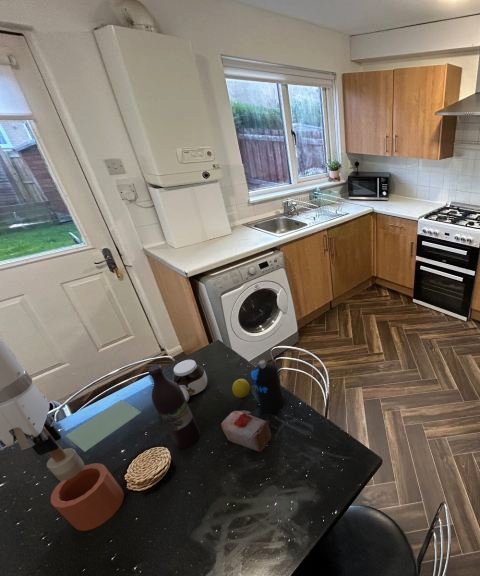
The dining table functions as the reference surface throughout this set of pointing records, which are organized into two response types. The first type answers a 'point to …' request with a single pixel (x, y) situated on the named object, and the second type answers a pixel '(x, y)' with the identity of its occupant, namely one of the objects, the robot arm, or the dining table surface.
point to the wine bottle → (173, 409)
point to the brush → (64, 462)
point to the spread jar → (190, 378)
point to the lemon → (241, 388)
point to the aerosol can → (268, 387)
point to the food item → (246, 430)
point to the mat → (102, 425)
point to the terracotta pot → (88, 497)
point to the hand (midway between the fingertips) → (50, 445)
